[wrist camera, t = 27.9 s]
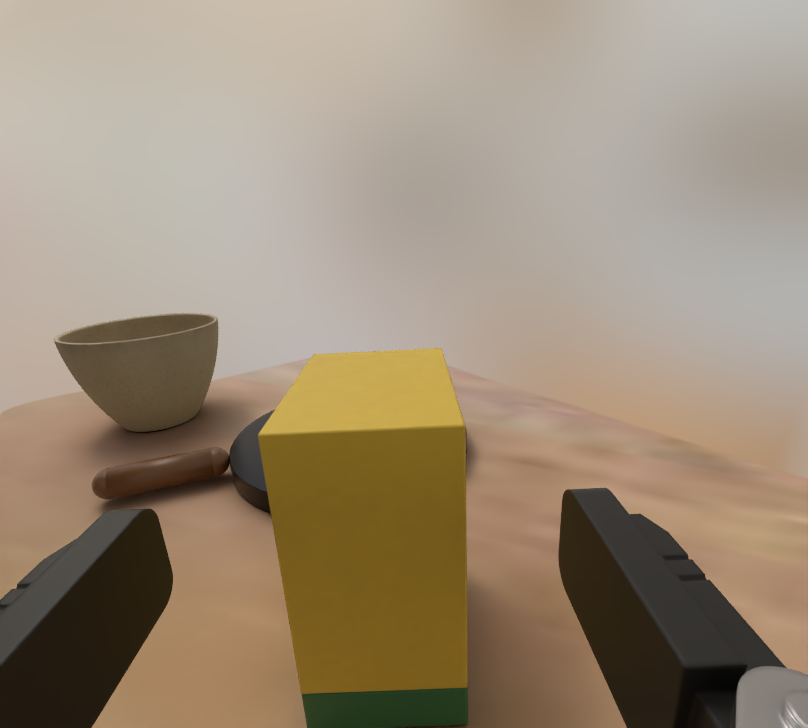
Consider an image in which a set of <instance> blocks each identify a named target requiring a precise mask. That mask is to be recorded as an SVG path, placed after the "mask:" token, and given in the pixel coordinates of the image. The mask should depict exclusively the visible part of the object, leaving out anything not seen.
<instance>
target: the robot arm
mask: <svg viewBox="0 0 808 728" xmlns="http://www.w3.org/2000/svg"><path fill="white" fill-rule="evenodd" d="M559 568H560V574H561V578H562V582H563V585H564V588H565V591H566V593H567V595H568V598H569V600H570V602H571V604H572V606H573V609H574V611H575V613H576V615H577V618H578V620H579V622H580V624H581V626H582V629H583V631H584V633H585V635H586V638H587V640H588V642H589V644H590V646H591V649H592V651H593V653H594V655H595V658H596V660H597V662H598V664H599V666H600V669H601V671H602V673H603V675H604V678H605V680H606V682H607V684H608V686H609V689H610V691H611V693H612V695H613V697H614V700H615V702H616V704H617V706H618V709H619V711H620V713H621V715H622V717H623V720H624V722H625V724H626V726H627V728H808V675H807V674H804V673H801V672H799V671H795V670H792V669H788V668H786V667H785V666H784V665H783V664H782V662H781V661H780V660H779V659H778V658H777V657H776V656H775V654H774V653H773V652H772V651H771V650H770V649H769V648H768V646H767V645H766V644H765V643H764V642H763V641H762V639H761V638H760V637H759V636H758V635H757V634H756V633H755V631H754V630H753V629H752V628H751V627H750V626H749V625H748V623H747V622H746V621H745V620H744V619H743V618H742V617H741V615H740V614H739V613H738V612H737V611H736V610H735V608H734V607H733V606H732V605H731V604H730V603H729V602H728V600H727V599H726V598H725V597H724V596H723V595H722V594H721V592H720V591H719V590H718V589H717V588H716V587H715V586H714V584H713V583H712V582H711V581H710V580H706V578H705V574H704V573H703V572H702V571H701V569H700V568H699V567H698V566H697V565H696V564H695V563H694V561H693V560H689V559H688V555H687V553H686V552H685V551H684V550H683V549H682V548H681V546H680V545H679V544H678V543H677V542H676V541H675V540H674V538H673V537H672V536H671V535H670V534H669V533H668V532H667V531H666V530H664V529H663V528H661V527H660V526H658V525H656V524H655V523H653V522H652V521H650V520H649V519H647V518H646V517H644V516H643V515H641V514H628V512H627V511H626V510H625V509H624V507H623V506H622V505H621V504H620V502H619V501H618V500H617V499H616V497H615V496H614V495H613V493H612V492H611V491H610V490H609V489H607V488H593V489H572V490H566V491H565V492H564V494H563V499H562V512H561V526H560V541H559ZM172 584H173V573H172V568H171V565H170V561H169V557H168V553H167V549H166V546H165V542H164V538H163V534H162V530H161V526H160V523H159V519H158V516H157V514H156V513H155V512H154V511H153V510H152V509H131V510H110V511H107V512H105V513H104V514H102V515H101V516H100V517H99V518H98V519H97V520H96V521H95V522H94V523H93V524H92V525H91V526H90V527H89V528H88V529H87V530H86V531H85V532H84V533H83V534H82V535H81V536H80V537H78V538H77V539H75V540H74V541H72V542H71V543H69V544H68V545H66V546H64V547H63V548H61V549H60V550H58V551H57V552H55V553H53V554H52V555H50V556H49V557H47V558H46V559H44V560H43V561H42V562H40V563H39V564H38V565H37V566H36V567H35V568H34V569H33V570H32V571H31V572H30V573H29V574H28V575H27V576H26V577H24V578H23V579H22V580H21V581H20V582H19V583H18V584H17V588H16V589H12V590H11V591H9V592H8V593H7V594H6V595H5V596H4V597H3V598H2V599H1V600H0V728H92V726H93V724H94V723H95V721H96V720H97V718H98V716H99V715H100V713H101V711H102V710H103V708H104V707H105V705H106V703H107V702H108V700H109V698H110V697H111V695H112V694H113V692H114V690H115V689H116V687H117V685H118V684H119V682H120V681H121V679H122V677H123V676H124V674H125V672H126V671H127V669H128V668H129V666H130V664H131V663H132V661H133V659H134V658H135V656H136V655H137V653H138V651H139V650H140V648H141V647H142V645H143V643H144V642H145V640H146V638H147V637H148V635H149V634H150V632H151V630H152V629H153V627H154V625H155V624H156V622H157V621H158V619H159V617H160V616H161V614H162V612H163V611H164V609H165V607H166V605H167V603H168V601H169V598H170V595H171V591H172Z"/></svg>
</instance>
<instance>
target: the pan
mask: <svg viewBox="0 0 808 728" xmlns="http://www.w3.org/2000/svg"><path fill="white" fill-rule="evenodd" d="M274 411H275V410H273V411H271V412H269V413H267V414H265V415H263V416H262V417H260V418H258V419H257V420H255V421H254V422H252V423H251V424H250V425H248V426H247V427H246V428H245V429H244V430H243V431H242V432H241V433H240V434H239V435H238V436H237V438H236V439H235V440H234V442H233V444H232V446H231V449H230V454H229V455H228V454H227V452H226V451H225V450H223V449H221V448H216V447H215V448H208V449H203V450H198V451H193V452H188V453H183V454H178V455H173V456H167V457H162V458H157V459H152V460H147V461H142V462H137V463H132V464H127V465H122V466H116V467H111V468H107V469H104V470H102V471H101V472H99V473H98V474H97V475H96V476H95V478H94V479H93V482H92V489H93V492H94V493H95V495H97V496H98V497H100V498H102V499H114V498H119V497H124V496H128V495H133V494H138V493H142V492H147V491H152V490H156V489H161V488H165V487H170V486H175V485H179V484H184V483H189V482H193V481H198V480H203V479H207V478H212V477H216V476H219V475H221V474H223V473H224V472H225V471H226V470H227V468H228V467H229V463H230V467H231V472H232V477H233V482H234V484H235V486H236V489H237V490H238V491H239V493H240V494H241V495H242V496H243V498H245V499H246V500H247V501H249V502H250V503H251V504H252V505H254V506H256V507H258V508H260V509H262V510H264V511H267V512H269V513H271V511H270V505H269V499H268V493H267V487H266V482H265V476H264V470H263V464H262V458H261V452H260V446H259V440H258V434H259V432H260V431H261V429H262V428H263V426H264V425H265V424H266V422H267V421H268V419H269V418H270V416H271V415H272V413H273V412H274ZM465 432H466V427H465ZM466 453H467V437H466Z"/></svg>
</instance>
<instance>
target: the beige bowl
mask: <svg viewBox="0 0 808 728" xmlns="http://www.w3.org/2000/svg"><path fill="white" fill-rule="evenodd" d="M54 342H55V344H56V346H57V349H58V351H59V353H60V355H61V357H62V359H63V360H64V362H65V364H66V366H67V367H68V369H69V370H70V372H71V373H72V375H73V376H74V378H75V379H76V381H77V382H78V384H79V385H80V386H81V387H82V389H83V390H84V391H85V392H86V393H87V395H88V396H89V397H90V398H91V399H92V400H93V401H94V402H95V403H96V404H97V405H98V406H99V407H100V408H101V409H102V410H103V411H104V412H105V413H106V414H107V415H108V416H110V417H111V418H112V419H113V420H115V421H116V422H117V423H118V424H120V425H121V426H122V427H124V428H125V429H127V430H130V431H135V432H147V431H156V430H162V429H166V428H170V427H173V426H177V425H179V424H182V423H184V422H186V421H188V420H190V419H192V418H193V417H194V416H195V415H196V414H197V413H198V412H199V410H200V408H201V406H202V404H203V401H204V399H205V397H206V394H207V391H208V389H209V385H210V382H211V379H212V375H213V371H214V367H215V362H216V355H217V347H218V319H217V317H216V316H213V315H210V314H201V313H174V314H160V315H150V316H142V317H135V318H127V319H122V320H115V321H109V322H103V323H99V324H94V325H89V326H85V327H81V328H77V329H74V330H70V331H67V332H65V333H62V334H60V335H58V336H56V337H55V338H54Z"/></svg>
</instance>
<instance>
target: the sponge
mask: <svg viewBox="0 0 808 728" xmlns="http://www.w3.org/2000/svg"><path fill="white" fill-rule="evenodd" d="M258 440H259V446H260V452H261V458H262V464H263V470H264V476H265V482H266V487H267V493H268V499H269V505H270V511H271V517H272V523H273V529H274V535H275V541H276V547H277V553H278V558H279V564H280V570H281V576H282V582H283V588H284V594H285V600H286V606H287V612H288V618H289V624H290V629H291V635H292V641H293V647H294V653H295V659H296V665H297V671H298V677H299V683H300V689H301V693H302V699H303V705H304V710H305V716H306V722H307V728H393V727H420V726H447V725H466V724H467V723H468V687H467V685H468V659H467V546H466V432H465V423H464V420H463V417H462V413H461V410H460V407H459V404H458V400H457V397H456V394H455V391H454V387H453V384H452V381H451V378H450V374H449V371H448V368H447V364H446V361H445V358H444V355H443V352H442V349H441V348H434V349H417V350H416V349H415V350H395V351H373V352H353V353H335V354H334V353H333V354H314V355H313V356H312V357H311V359H310V360H309V362H308V363H307V364H306V366H305V367H304V369H303V370H302V372H301V373H300V375H299V376H298V377H297V379H296V380H295V382H294V383H293V385H292V386H291V388H290V389H289V390H288V392H287V393H286V395H285V396H284V398H283V399H282V400H281V402H280V403H279V405H278V406H277V408H276V409H275V411H274V412H273V413H272V415H271V416H270V418H269V419H268V421H267V422H266V424H265V425H264V426H263V428H262V429H261V431H260V432H259V434H258Z"/></svg>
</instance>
